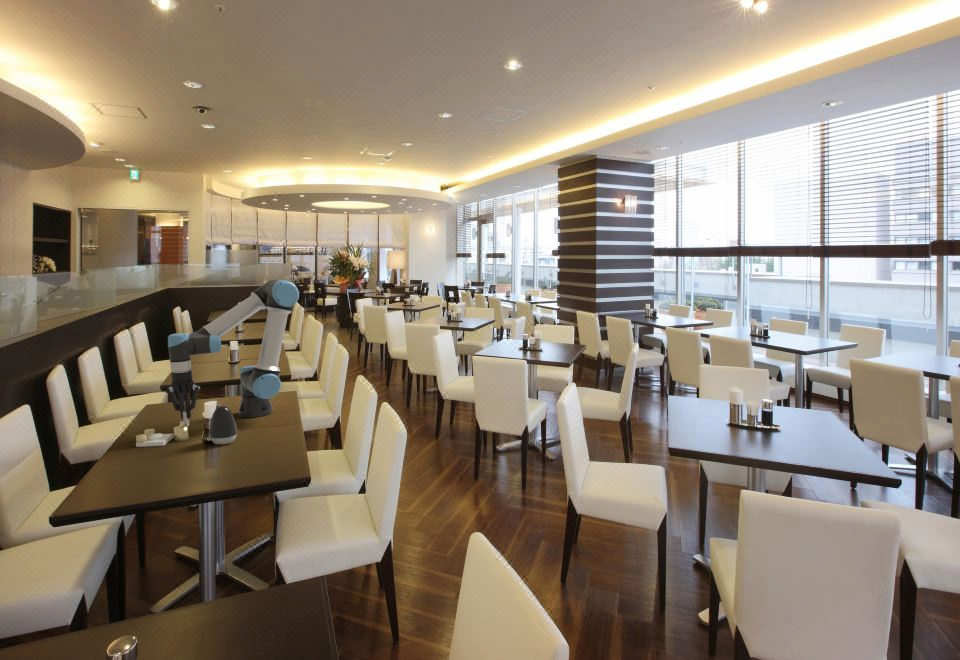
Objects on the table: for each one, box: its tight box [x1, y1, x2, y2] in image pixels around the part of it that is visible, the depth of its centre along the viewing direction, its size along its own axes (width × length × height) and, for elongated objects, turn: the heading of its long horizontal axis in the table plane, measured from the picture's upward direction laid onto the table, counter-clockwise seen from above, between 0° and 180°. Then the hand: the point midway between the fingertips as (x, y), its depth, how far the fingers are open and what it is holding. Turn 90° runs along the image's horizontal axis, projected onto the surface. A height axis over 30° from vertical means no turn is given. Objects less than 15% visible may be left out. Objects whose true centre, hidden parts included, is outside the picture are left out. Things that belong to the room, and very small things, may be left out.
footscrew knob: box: [173, 420, 190, 442], centre depth 223 cm, size 12×5×5 cm, turn 24°
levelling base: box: [135, 428, 175, 448], centre depth 218 cm, size 10×14×4 cm
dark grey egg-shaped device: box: [208, 405, 238, 445], centre depth 216 cm, size 10×10×15 cm
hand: (186, 426), depth 227 cm, fingers closed
